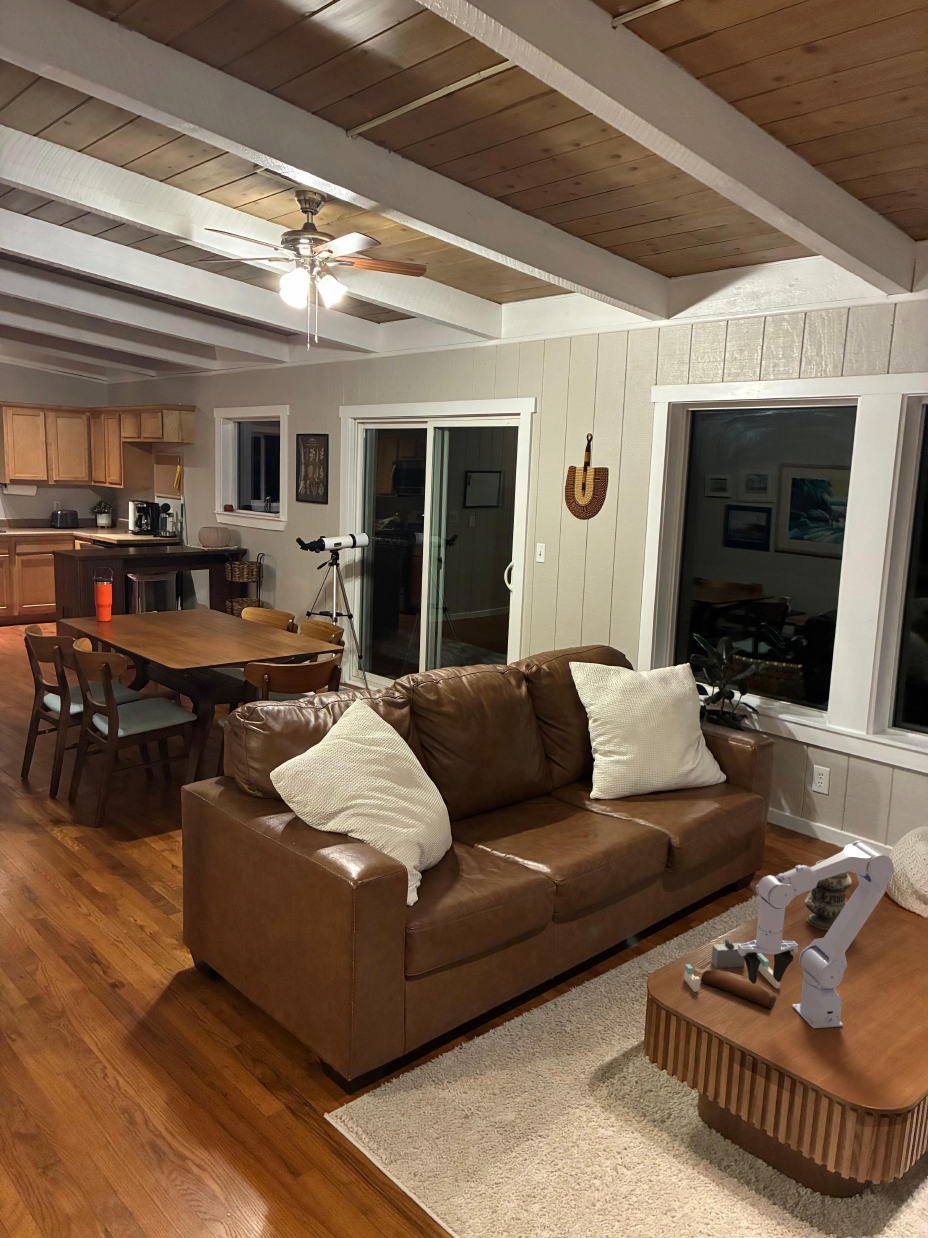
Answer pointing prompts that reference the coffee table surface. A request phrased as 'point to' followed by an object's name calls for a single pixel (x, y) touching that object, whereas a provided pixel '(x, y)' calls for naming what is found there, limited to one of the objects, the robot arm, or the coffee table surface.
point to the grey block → (726, 955)
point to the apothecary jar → (827, 900)
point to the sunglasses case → (739, 986)
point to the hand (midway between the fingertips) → (764, 980)
